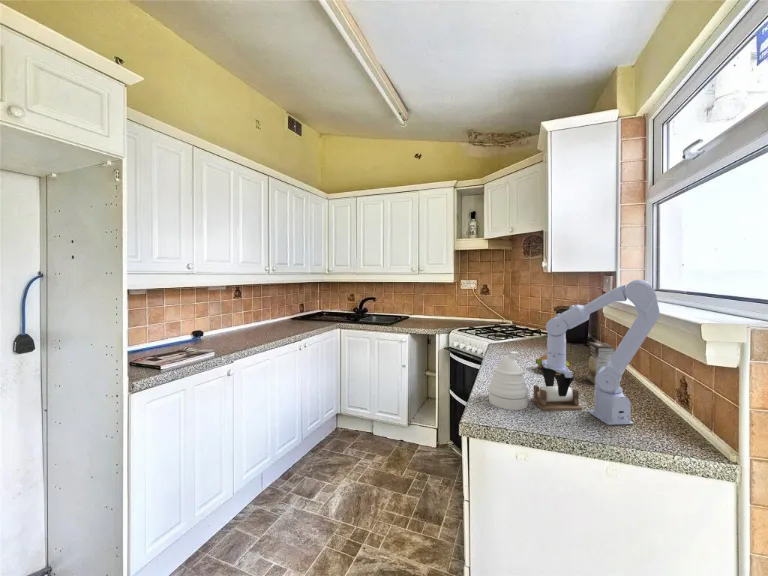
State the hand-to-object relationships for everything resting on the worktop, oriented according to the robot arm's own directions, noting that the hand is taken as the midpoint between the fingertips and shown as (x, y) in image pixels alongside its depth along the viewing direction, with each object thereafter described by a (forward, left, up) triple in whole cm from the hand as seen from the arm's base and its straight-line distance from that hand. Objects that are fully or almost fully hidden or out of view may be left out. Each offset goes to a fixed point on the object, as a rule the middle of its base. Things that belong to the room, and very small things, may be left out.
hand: (555, 391), depth 112 cm
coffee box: (+20, -31, -5) cm, 37 cm away
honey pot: (+4, +15, -5) cm, 16 cm away
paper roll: (0, 0, -1) cm, 1 cm away
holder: (0, 0, -5) cm, 5 cm away
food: (+35, -20, -5) cm, 41 cm away
